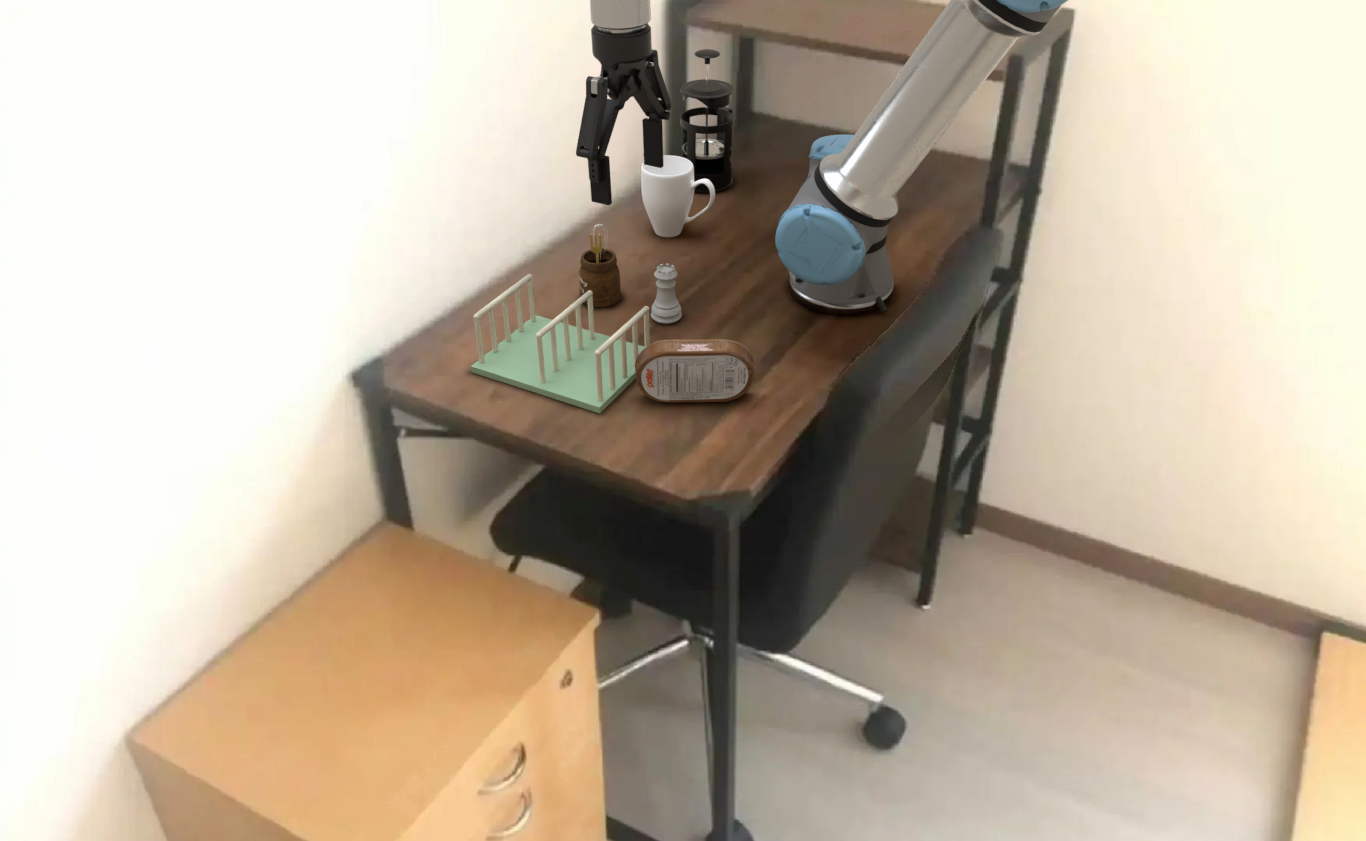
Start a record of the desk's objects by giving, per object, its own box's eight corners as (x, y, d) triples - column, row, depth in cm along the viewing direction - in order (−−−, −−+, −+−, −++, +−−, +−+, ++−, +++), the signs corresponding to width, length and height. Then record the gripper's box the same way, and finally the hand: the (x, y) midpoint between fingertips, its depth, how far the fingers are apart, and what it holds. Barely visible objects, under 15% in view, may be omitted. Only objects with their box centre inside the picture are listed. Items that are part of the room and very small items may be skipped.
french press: (709, 200, 191) (711, 66, 178) (666, 186, 196) (664, 54, 182) (748, 177, 199) (753, 47, 185) (705, 164, 203) (707, 36, 190)
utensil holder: (621, 288, 167) (618, 214, 160) (619, 310, 162) (616, 234, 155) (582, 288, 167) (577, 214, 160) (578, 310, 162) (573, 234, 155)
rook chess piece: (646, 312, 161) (645, 263, 156) (675, 307, 162) (675, 257, 158) (656, 328, 158) (655, 277, 153) (686, 322, 159) (686, 272, 154)
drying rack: (658, 356, 152) (657, 302, 147) (599, 413, 141) (596, 357, 136) (535, 320, 159) (530, 268, 154) (471, 372, 149) (463, 317, 144)
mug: (634, 238, 180) (632, 171, 173) (653, 216, 186) (652, 151, 179) (704, 250, 176) (705, 183, 170) (722, 228, 183) (723, 162, 176)
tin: (752, 390, 145) (754, 335, 140) (754, 404, 143) (756, 348, 138) (635, 393, 145) (634, 337, 140) (635, 407, 142) (634, 351, 137)
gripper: (645, -5, 150) (651, 146, 163) (538, 48, 133) (553, 213, 145) (694, 2, 147) (696, 155, 160) (591, 57, 130) (602, 225, 142)
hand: (628, 183), depth 152 cm, fingers open, 13 cm apart
